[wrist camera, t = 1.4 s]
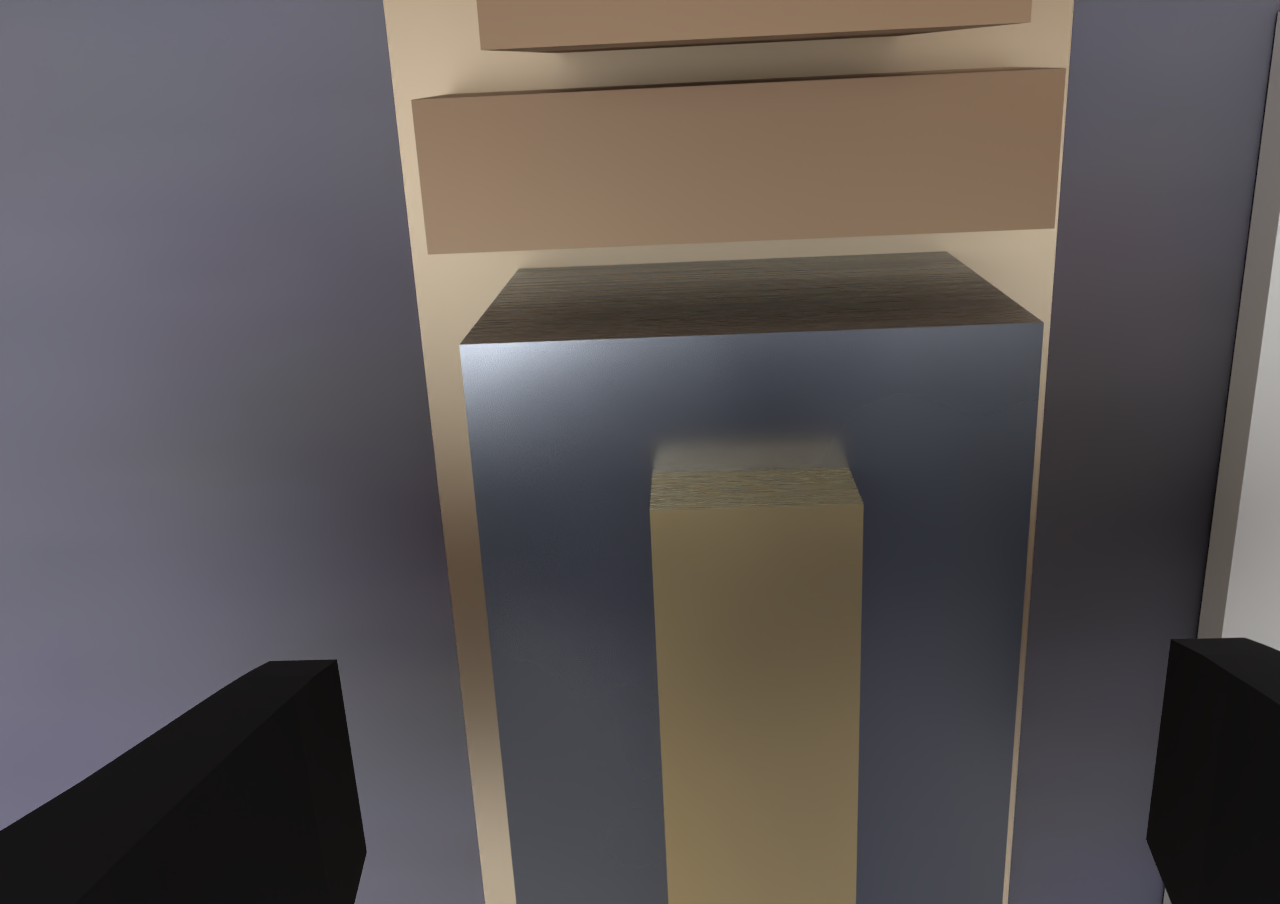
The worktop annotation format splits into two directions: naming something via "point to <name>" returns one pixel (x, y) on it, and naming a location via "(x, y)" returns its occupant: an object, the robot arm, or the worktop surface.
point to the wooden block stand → (706, 188)
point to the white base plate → (1252, 427)
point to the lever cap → (755, 575)
